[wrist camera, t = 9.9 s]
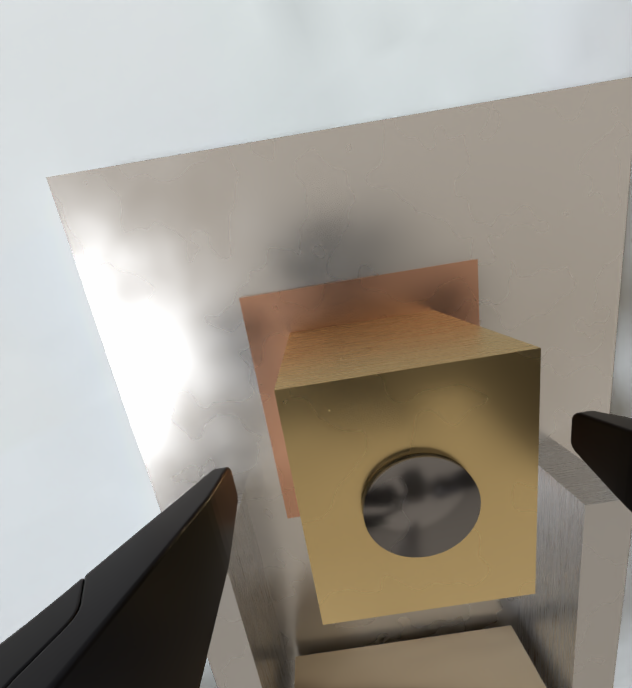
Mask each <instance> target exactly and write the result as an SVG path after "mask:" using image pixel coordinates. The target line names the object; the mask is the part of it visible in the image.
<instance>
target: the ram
mask: <svg viewBox="0 0 632 688" xmlns="http://www.w3.org/2000/svg"><path fill="white" fill-rule="evenodd" d="M294 688H546V686H545V684H544V683H543V681H542V679H541V677H540V675H539V674H538V672H537V670H536V668H535V667H534V665H533V663H532V661H531V659H530V658H529V656H528V654H527V652H526V651H525V649H524V647H523V645H522V644H521V642H520V640H519V638H518V636H517V635H516V633H515V631H514V629H513V628H512V626H511V625H510V626H503V627H496V628H489V629H482V630H475V631H468V632H461V633H455V634H448V635H441V636H434V637H427V638H420V639H413V640H406V641H400V642H393V643H386V644H379V645H372V646H365V647H358V648H351V649H345V650H338V651H331V652H324V653H317V654H310V655H303V656H296V657H295V684H294Z"/></svg>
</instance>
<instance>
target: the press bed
mask: <svg viewBox="0 0 632 688" xmlns="http://www.w3.org/2000/svg"><path fill="white" fill-rule="evenodd" d="M631 159H632V77H629V78H624V79H618V80H612V81H606V82H600V83H594V84H589V85H583V86H577V87H571V88H565V89H559V90H554V91H548V92H542V93H536V94H530V95H524V96H519V97H513V98H507V99H501V100H495V101H489V102H484V103H478V104H472V105H466V106H460V107H455V108H449V109H443V110H437V111H431V112H425V113H420V114H414V115H408V116H402V117H396V118H390V119H385V120H379V121H373V122H367V123H361V124H355V125H350V126H344V127H338V128H332V129H326V130H320V131H315V132H309V133H303V134H297V135H291V136H285V137H280V138H274V139H268V140H262V141H256V142H251V143H245V144H239V145H233V146H227V147H221V148H216V149H210V150H204V151H198V152H192V153H186V154H181V155H175V156H169V157H163V158H157V159H151V160H146V161H140V162H134V163H128V164H122V165H116V166H111V167H105V168H99V169H93V170H87V171H81V172H76V173H70V174H64V175H58V176H52V177H46V178H47V181H48V184H49V187H50V190H51V193H52V196H53V199H54V201H55V204H56V207H57V210H58V213H59V216H60V219H61V222H62V225H63V228H64V231H65V233H66V236H67V239H68V242H69V245H70V248H71V251H72V254H73V257H74V260H75V263H76V266H77V268H78V271H79V274H80V277H81V280H82V283H83V286H84V289H85V292H86V295H87V298H88V300H89V303H90V306H91V309H92V312H93V315H94V318H95V321H96V324H97V327H98V330H99V332H100V335H101V338H102V341H103V344H104V347H105V350H106V353H107V356H108V359H109V362H110V365H111V367H112V370H113V373H114V376H115V379H116V382H117V385H118V388H119V391H120V394H121V397H122V399H123V402H124V405H125V408H126V411H127V414H128V417H129V420H130V423H131V426H132V429H133V431H134V434H135V437H136V440H137V443H138V446H139V449H140V452H141V455H142V458H143V461H144V464H145V466H146V469H147V472H148V475H149V478H150V481H151V484H152V487H153V490H154V493H155V496H156V498H157V501H158V504H159V507H160V510H161V512H162V511H164V510H165V509H166V508H167V507H169V506H170V505H171V504H172V503H173V502H175V501H176V500H177V499H178V498H179V497H181V496H182V495H183V494H184V493H185V492H187V491H188V490H189V489H190V488H191V487H193V486H194V485H195V484H196V483H197V482H199V481H200V480H201V479H202V478H203V477H205V476H206V475H207V474H208V473H209V472H211V471H212V470H213V469H216V468H223V467H229V468H230V469H231V471H232V475H233V478H234V482H235V486H236V490H237V494H238V505H237V512H236V519H235V526H234V534H233V541H232V548H231V555H230V562H229V567H228V571H227V576H226V580H225V584H224V588H223V592H222V597H221V601H220V605H219V609H218V613H217V617H216V621H215V626H214V630H213V634H212V638H211V642H210V646H209V650H208V655H207V658H208V661H209V664H210V666H211V669H212V672H213V675H214V678H215V681H216V684H217V687H218V688H294V684H295V657H296V656H303V655H310V654H317V653H324V652H331V651H338V650H345V649H351V648H358V647H365V646H372V645H379V644H386V643H393V642H400V641H406V640H413V639H420V638H427V637H434V636H441V635H448V634H455V633H461V632H468V631H475V630H482V629H489V628H496V627H503V626H510V625H511V626H512V628H513V629H514V631H515V633H516V635H517V636H518V638H519V640H520V642H521V644H522V645H523V647H524V649H525V651H526V652H527V654H528V656H529V658H530V659H531V661H532V663H533V665H534V667H535V668H536V670H537V672H538V674H539V675H540V677H541V679H542V681H543V683H544V684H545V686H546V688H613V682H614V674H615V665H616V657H617V649H618V640H619V632H620V623H621V615H622V606H623V598H624V590H625V581H626V573H627V564H628V556H629V547H630V539H631V531H632V512H631V511H630V510H629V509H628V508H627V507H626V506H625V505H624V504H623V503H622V502H621V501H620V500H619V499H618V498H617V497H616V496H615V495H614V494H613V493H612V492H611V490H610V489H609V488H608V487H607V486H606V485H605V484H604V483H603V482H602V481H601V479H600V478H599V477H598V476H597V475H596V474H595V473H594V472H593V471H592V470H591V469H590V467H589V466H588V465H587V464H586V463H585V462H584V461H583V460H582V459H581V458H580V456H579V455H578V454H577V453H576V452H575V451H574V449H573V447H572V445H571V425H572V417H573V415H574V414H575V413H578V412H585V411H598V412H603V413H607V414H609V413H610V402H611V390H612V379H613V367H614V356H615V344H616V333H617V321H618V310H619V298H620V286H621V275H622V263H623V252H624V240H625V229H626V217H627V206H628V194H629V183H630V171H631ZM431 310H435V311H438V312H441V313H444V314H446V315H449V316H452V317H455V318H458V319H461V320H463V321H466V322H469V323H472V324H475V325H478V326H480V327H483V328H486V329H489V330H492V331H495V332H497V333H500V334H503V335H506V336H509V337H512V338H514V339H517V340H520V341H523V342H526V343H529V344H532V345H534V346H537V347H540V348H541V372H540V414H539V456H538V498H537V540H536V581H535V594H530V595H523V596H516V597H509V598H502V599H496V600H489V601H482V602H475V603H468V604H462V605H455V606H448V607H441V608H434V609H428V610H421V611H414V612H407V613H400V614H394V615H387V616H380V617H373V618H366V619H360V620H353V621H346V622H339V623H332V624H326V625H323V623H322V618H321V613H320V608H319V604H318V599H317V594H316V589H315V584H314V580H313V575H312V570H311V565H310V560H309V556H308V551H307V546H306V541H305V536H304V532H303V527H302V522H301V517H300V512H299V508H298V503H297V498H296V493H295V488H294V484H293V479H292V474H291V469H290V465H289V460H288V455H287V450H286V445H285V441H284V436H283V431H282V426H281V421H280V417H279V412H278V407H277V402H276V397H275V393H274V389H275V385H276V381H277V378H278V374H279V370H280V367H281V363H282V359H283V356H284V352H285V349H286V345H287V341H288V338H289V334H290V333H295V332H302V331H308V330H314V329H320V328H326V327H332V326H339V325H345V324H351V323H357V322H363V321H369V320H376V319H382V318H388V317H394V316H400V315H407V314H413V313H419V312H425V311H431Z"/></svg>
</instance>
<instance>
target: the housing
mask: <svg viewBox="0 0 632 688" xmlns="http://www.w3.org/2000/svg"><path fill="white" fill-rule="evenodd" d="M540 372H541V348H540V347H537V346H534V345H532V344H529V343H526V342H523V341H520V340H517V339H514V338H512V337H509V336H506V335H503V334H500V333H497V332H495V331H492V330H489V329H486V328H483V327H480V326H478V325H475V324H472V323H469V322H466V321H463V320H461V319H458V318H455V317H452V316H449V315H446V314H444V313H441V312H438V311H435V310H431V311H425V312H419V313H413V314H407V315H400V316H394V317H388V318H382V319H376V320H369V321H363V322H357V323H351V324H345V325H339V326H332V327H326V328H320V329H314V330H308V331H302V332H295V333H290V334H289V338H288V341H287V345H286V349H285V352H284V356H283V359H282V363H281V367H280V370H279V374H278V378H277V381H276V385H275V389H274V393H275V397H276V402H277V407H278V412H279V417H280V421H281V426H282V431H283V436H284V441H285V445H286V450H287V455H288V460H289V465H290V469H291V474H292V479H293V484H294V488H295V493H296V498H297V503H298V508H299V512H300V517H301V522H302V527H303V532H304V536H305V541H306V546H307V551H308V556H309V560H310V565H311V570H312V575H313V580H314V584H315V589H316V594H317V599H318V604H319V608H320V613H321V618H322V623H323V625H326V624H332V623H339V622H346V621H353V620H360V619H366V618H373V617H380V616H387V615H394V614H400V613H407V612H414V611H421V610H428V609H434V608H441V607H448V606H455V605H462V604H468V603H475V602H482V601H489V600H496V599H502V598H509V597H516V596H523V595H530V594H535V581H536V540H537V498H538V456H539V414H540Z"/></svg>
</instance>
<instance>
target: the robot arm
mask: <svg viewBox="0 0 632 688" xmlns="http://www.w3.org/2000/svg"><path fill="white" fill-rule="evenodd" d="M571 445H572V447H573V449H574V451H575V452H576V453H577V454H578V455H579V456H580V458H581V459H582V460H583V461H584V462H585V463H586V464H587V465H588V466H589V467H590V469H591V470H592V471H593V472H594V473H595V474H596V475H597V476H598V477H599V478H600V479H601V481H602V482H603V483H604V484H605V485H606V486H607V487H608V488H609V489H610V490H611V492H612V493H613V494H614V495H615V496H616V497H617V498H618V499H619V500H620V501H621V502H622V503H623V504H624V505H625V506H626V507H627V508H628V509H629V510H630V511H631V512H632V418H627V417H622V416H617V415H612V414H607V413H603V412H598V411H585V412H578V413H575V414H574V415H573V417H572V425H571ZM237 505H238V494H237V490H236V486H235V482H234V478H233V475H232V471H231V469H230V468H229V467H223V468H216V469H213V470H212V471H211V472H209V473H208V474H207V475H206V476H205V477H203V478H202V479H201V480H200V481H199V482H197V483H196V484H195V485H194V486H193V487H191V488H190V489H189V490H188V491H187V492H185V493H184V494H183V495H182V496H181V497H179V498H178V499H177V500H176V501H175V502H173V503H172V504H171V505H170V506H169V507H167V508H166V509H165V510H164V511H162V512H161V513H160V514H159V515H158V516H156V517H155V518H154V519H153V520H152V521H150V522H149V523H148V524H147V525H146V526H144V527H143V528H142V529H141V530H140V531H138V532H137V533H136V534H135V535H134V536H132V537H131V538H130V539H129V540H128V541H126V542H125V543H124V544H123V545H122V546H120V547H119V548H118V549H117V550H116V551H114V552H113V553H112V554H111V555H110V556H108V557H107V558H106V559H105V560H104V561H102V562H101V563H100V564H99V565H98V566H96V567H95V568H94V569H93V570H92V571H90V572H89V573H88V574H87V575H86V576H85V579H81V580H79V581H78V582H77V583H76V584H75V585H73V586H72V587H71V588H70V589H69V590H67V591H66V592H65V593H64V594H63V595H61V596H60V597H59V598H58V599H56V600H55V601H54V602H53V603H52V604H50V605H49V606H48V607H47V608H45V609H44V610H43V611H42V612H40V613H39V614H38V615H37V616H36V617H34V618H33V619H32V620H31V621H29V622H28V623H27V624H26V625H24V626H23V627H22V628H20V629H19V630H18V631H16V632H15V633H14V634H13V635H11V636H10V637H9V638H7V639H6V640H5V641H4V642H2V643H1V644H0V688H200V683H201V679H202V675H203V671H204V667H205V663H206V659H207V655H208V650H209V646H210V642H211V638H212V634H213V630H214V626H215V621H216V617H217V613H218V609H219V605H220V601H221V597H222V592H223V588H224V584H225V580H226V576H227V571H228V567H229V562H230V555H231V548H232V541H233V534H234V526H235V519H236V512H237Z"/></svg>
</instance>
